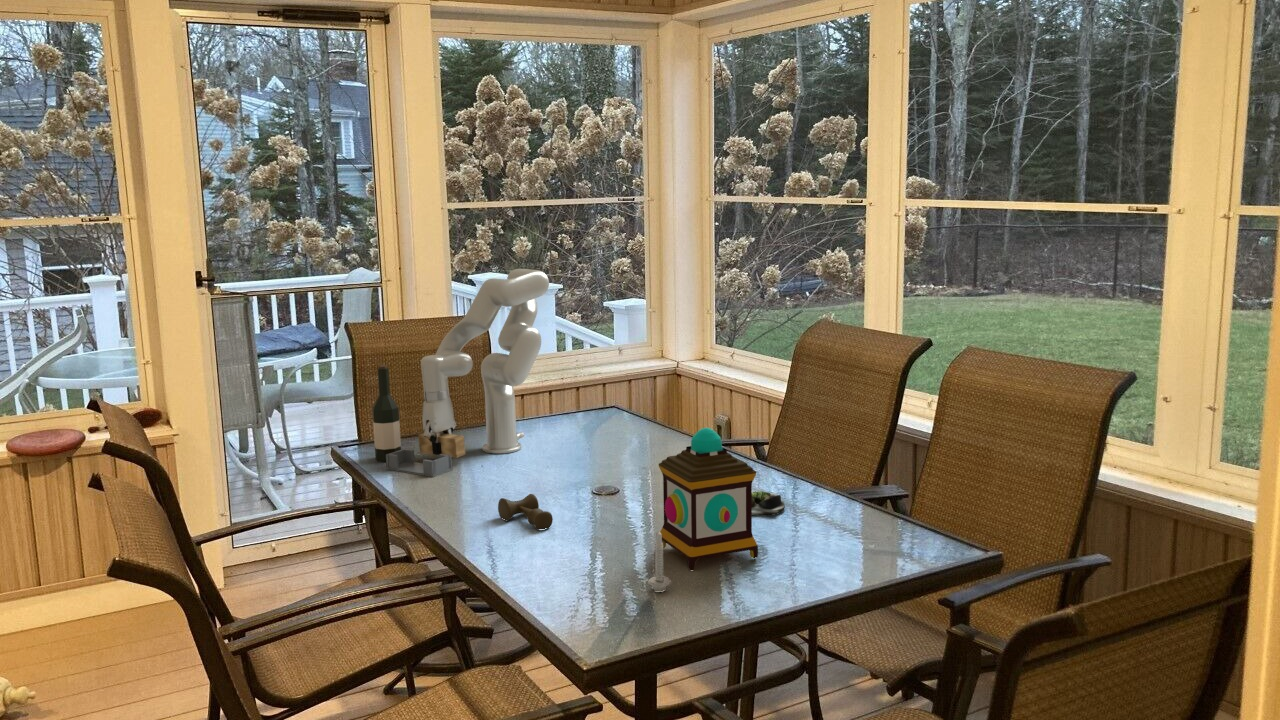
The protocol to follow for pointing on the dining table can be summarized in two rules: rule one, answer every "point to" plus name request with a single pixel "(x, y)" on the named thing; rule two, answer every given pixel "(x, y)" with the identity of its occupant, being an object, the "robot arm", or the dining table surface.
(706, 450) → the decorative lantern
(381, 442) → the wine bottle
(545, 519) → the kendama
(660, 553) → the screw
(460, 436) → the slat
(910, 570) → the dining table surface
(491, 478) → the dining table surface
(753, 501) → the salad plate
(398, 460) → the end-cap rail
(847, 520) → the dining table surface
